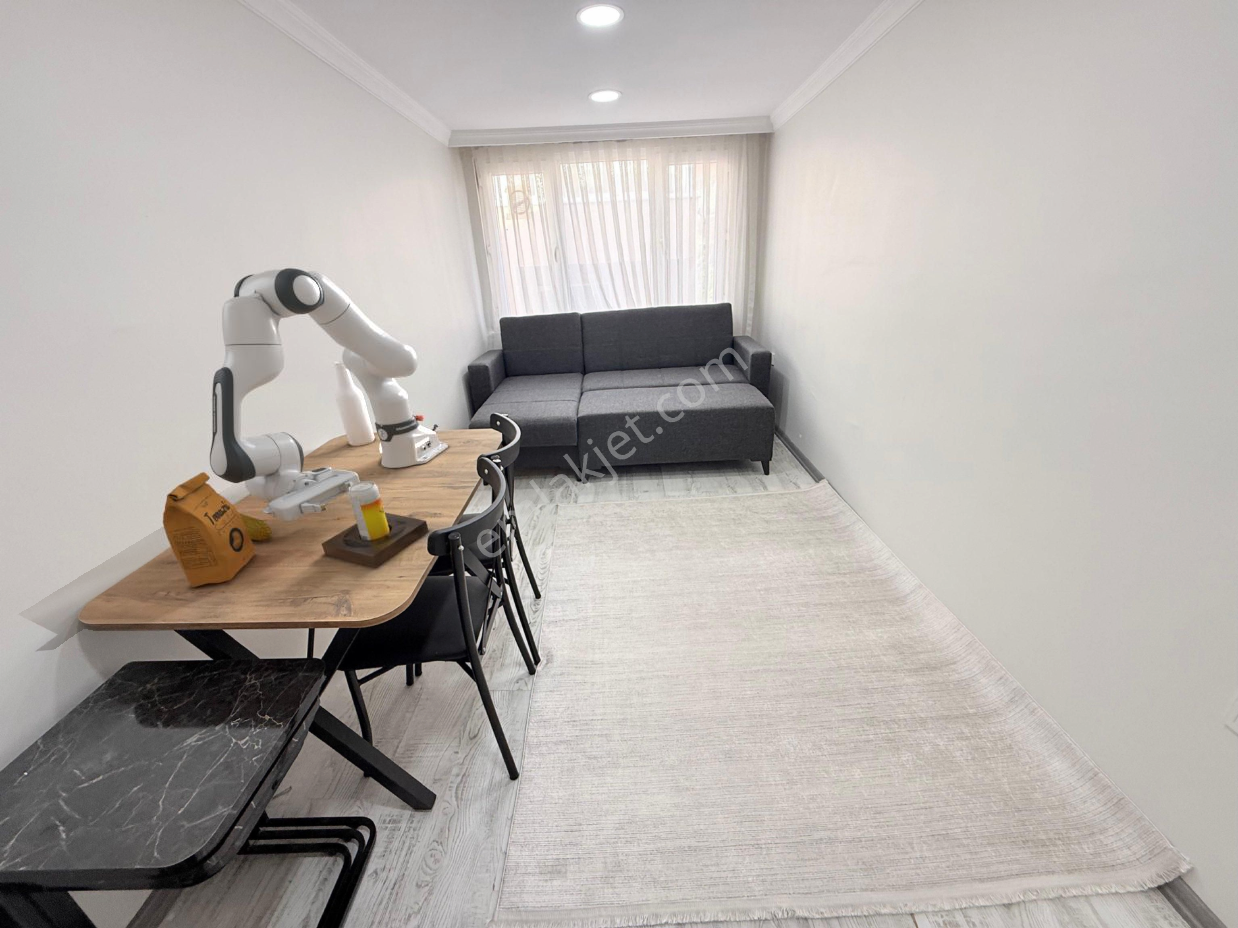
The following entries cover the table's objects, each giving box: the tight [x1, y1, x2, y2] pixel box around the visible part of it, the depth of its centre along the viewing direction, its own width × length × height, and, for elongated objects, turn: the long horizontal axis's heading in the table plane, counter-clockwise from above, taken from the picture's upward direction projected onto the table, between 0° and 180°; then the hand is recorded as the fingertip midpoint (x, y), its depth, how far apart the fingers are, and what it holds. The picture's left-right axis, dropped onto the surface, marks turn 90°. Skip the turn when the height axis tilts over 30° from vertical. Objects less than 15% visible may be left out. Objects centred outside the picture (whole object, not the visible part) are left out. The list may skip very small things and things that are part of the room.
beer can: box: [347, 480, 390, 540], centre depth 113 cm, size 6×6×15 cm
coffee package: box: [162, 471, 256, 588], centre depth 105 cm, size 10×12×22 cm
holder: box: [321, 512, 429, 569], centre depth 116 cm, size 16×16×3 cm
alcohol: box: [333, 360, 376, 447], centre depth 177 cm, size 9×9×30 cm
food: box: [239, 512, 272, 541], centre depth 122 cm, size 21×6×6 cm, turn 69°
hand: (340, 499), depth 116 cm, fingers open, 8 cm apart
